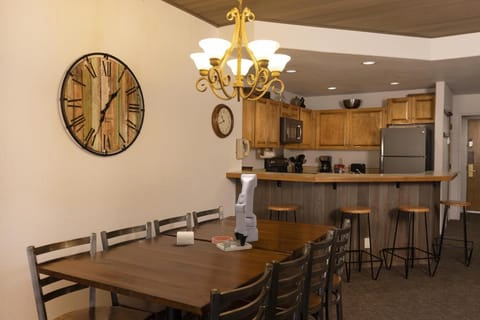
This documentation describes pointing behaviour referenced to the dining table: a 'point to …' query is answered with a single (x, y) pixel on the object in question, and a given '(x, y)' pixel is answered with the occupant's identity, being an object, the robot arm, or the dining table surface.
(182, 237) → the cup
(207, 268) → the dining table surface
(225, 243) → the pebble
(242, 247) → the tray
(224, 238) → the bowl
